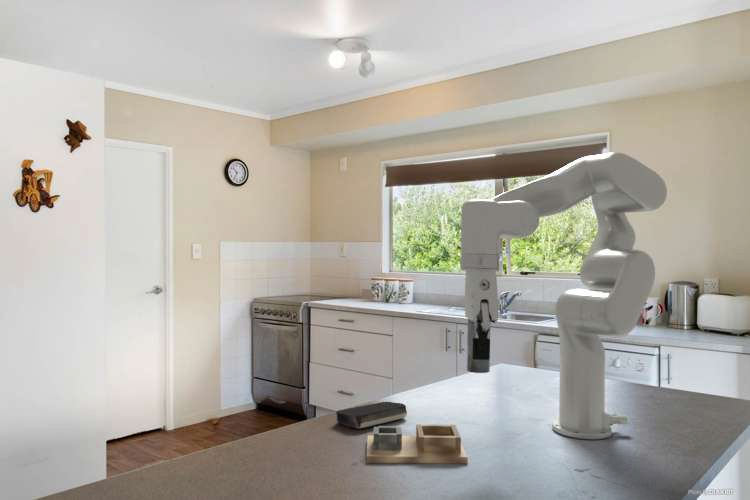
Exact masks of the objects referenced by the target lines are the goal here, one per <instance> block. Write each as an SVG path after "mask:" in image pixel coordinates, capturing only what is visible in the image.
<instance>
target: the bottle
mask: <svg viewBox="0 0 750 500" xmlns="http://www.w3.org/2000/svg"><path fill="white" fill-rule="evenodd" d="M477 316H478V315H477ZM489 321H490V324H491V323H492V322H491V320H490V319H489ZM477 322H482V320H477ZM478 327H479V325H478ZM478 329H479V328H478ZM466 335H467V336H466V338H467V341H466V343H467V344H466V346H467V347H466V372H469V373H474V374H487V373H489V372H490V371H491V370H490V367H491V362H490V361H491V358H490V359H489V360H474V359H473V357H472V356H473V338H475V337H474V322H472V321H471V320H470V319H468V318H467V334H466Z"/></svg>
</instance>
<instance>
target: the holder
mask: <svg viewBox="0 0 750 500" xmlns="http://www.w3.org/2000/svg"><path fill="white" fill-rule="evenodd" d="M415 426H416V427H415V429H416V431H415V435H402V434H403V433H402V427H401V426H397V425H378V426H373V435H371V434H370V435H367V443H366V446H367V447H366V463H374V464H376V463H379V464H381V463H382V464H385V463H386V464H466V465H467V464H468V460H469V459H468V454H467V453H466V450H465V447H464V446H463V444H462V437H461V434H460V433H459V431H458V428H457V426H456V424H416V425H415Z"/></svg>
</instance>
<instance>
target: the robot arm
mask: <svg viewBox="0 0 750 500" xmlns="http://www.w3.org/2000/svg"><path fill="white" fill-rule="evenodd" d="M667 196H668V189H667V185H666V183H665V180H664V178H663V177H661V176H660V174H658V173H657V172H656V171H655V170H653V169H651V168H650V167H648V166H647V165H645V164H644V163H642V162H641V161H639V160H638V159H636V158H633V156H630V155H628V154H625V153H623V152H619V151H615V152H614V151H613V152H607V153H602V154H595V155H587V156H584V157H581V158H578V159H576V160H574V161H573V162H570V163H568V164H567V165H565V166H563V167H561V168H559V169H558V170H555V171H554V172H552V173H550V174H547V175H546V176H544V177H541V178H538V179H536V180H533V181H530V182H527V183H526V184H523V185H521V186H518V187H516V188H512V189H510V190H508V191H505V192H502V193H500V194H499V195H495V196H494V197H493V198H491V199H469V200H466V201H465V202H463V203H462V206H461V212H460V213H461V214H460V215H461V216H460V217H461V218H460V268H459V269H460V271H463V272H464V271H465V277H464V281H465V283H464V315H465V317H466V318H467V320H468V319H470V320H471V321H472V322H474V337H475V338H473V356H472V357H473V359H474V360H489V359H490V360H491V323H493V324H496V323H497V322H498V321H499V305H498V304H499V301H498V299H499V297H498V281H497V273H496V272H500V267H501V266H500V262H501V261H500V259H501V257H500V256H501V254H500V252H501V251H500V250H501V249H500V247H501V239H510V240H511V239H522V238H523V239H524V238H527V237H529V236H531V235H533V234H534V233H535V232H536V231H537V229H538V228H539V224H540V218H545V217H551V216H554V215H558V214H561V213H564V212H566V211H568V210H570V209H571V208H573V207H575V206H576V205H579V203H581V202H583V201H584V200H586V199H588V198H591V203H592V207H593V209H594V212H595V216H596V221H597V231H596V234H595V236H594V239H593V241H592V243H591V245H590V247H589V248H588V249H589V250H588V251H587V254H586V256H585V257H584V260H583V262H582V264H581V267H580V270H579V278H580V279H579V280H580V281H581V283H582V284H583V285H584V286H585V287H587V288H571V289H568V290H566V291H563V292H562V293H561V294H560V295H559V296H558V298H557V300H556V302H555V309H554V310H555V311H554V312H555V319H556V323H557V328H558V335H559V336H558V338H559V398H558V399H559V400H558V401H559V402H558V403H559V405H558V406H559V407H558V409H559V410H558V411H559V412H558V415H559V417H558V418H557V419H554V420H553V421H552V422H551V429H552V430H553V431H554V432H556V433H558V434H560V435H562V436H566V437H570V438H574V439H581V440H603V439H607V438H610V437H611V436H612V435H613V428H612V427H613V425H626V426H627V425H628V417H627V415H623V414H622V415H617V413H609V412H607V411H606V408H605V407H606V406H605V405H606V403H605V402H606V399H605V398H606V395H605V393H606V352H605V347H604V344H603V342H602V339H601V337H600V336H606V337H614V338H623V337H625V336H627V335H629V334H630V333H631V332H632V331H633V330H634V329H635V327H636V325H637V323H638V321H639V319H640V316H641V314H642V312H643V310H644V308H645V306H646V304H647V301H648V298H649V296H650V294H651V291H652V289H653V286H654V282H655V279H656V266H655V263H654V260H653V258H652V257H651V255H649V254H648V253H647V252H645V251H643V250H639V249H633V248H634V245H635V243H636V232H635V230H634V228H633V226H632V224H631V223H630V221H629V219H628V217H627V215H626V213H639V212H641V213H642V212H652V211H655V210H657V209H659V208H660V207H662V205H664V203H665V202H666V200H667ZM477 315H478V316H477ZM489 319H490V320H491V323H490V321H489ZM477 320H482V322H477ZM478 325H479V327H478ZM478 328H479V329H478ZM599 335H600V336H599Z"/></svg>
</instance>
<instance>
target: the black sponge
mask: <svg viewBox="0 0 750 500" xmlns="http://www.w3.org/2000/svg"><path fill="white" fill-rule="evenodd" d="M407 412H408V411H407V405H405V404H404V403H401V402H392V401H381V402H376V403H371V404H365V405H361V406H356V407H351V408H344V409H339V410H337V411H335V413H336V421H337V423H338V424H340V425H344V426H347V427H351V428H356V429H363V428H369V427H372V426H373V427H374V426H376V425H377V426H378V425H381V424H386V423H389V422H394V421H397V420H398V421H399V420H400V419H401V420H402V419H404V418H406V416H407Z"/></svg>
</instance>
